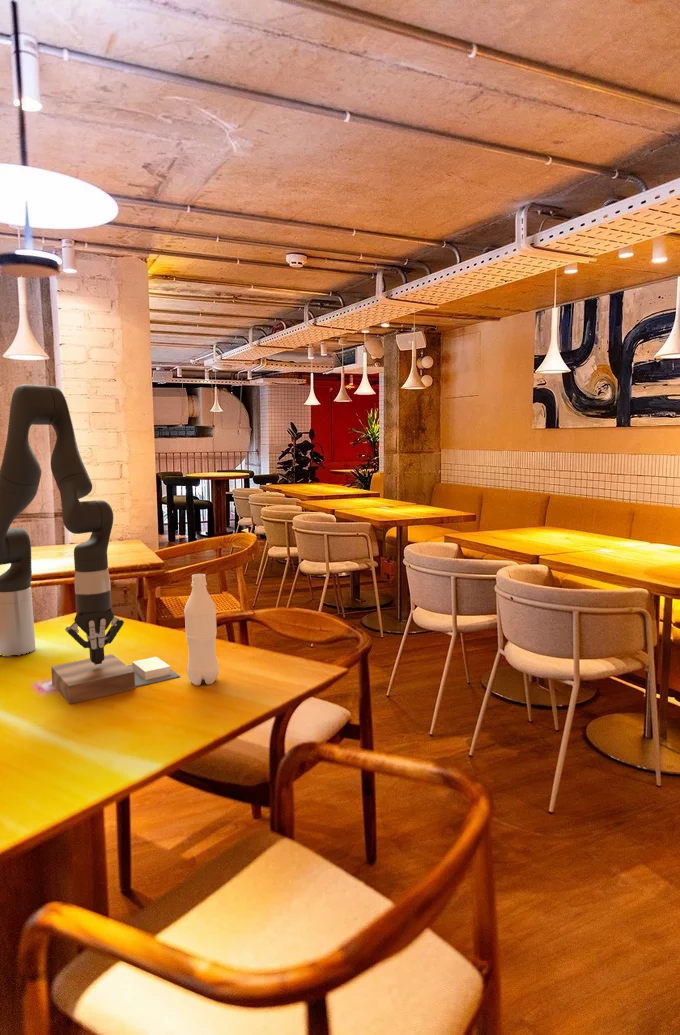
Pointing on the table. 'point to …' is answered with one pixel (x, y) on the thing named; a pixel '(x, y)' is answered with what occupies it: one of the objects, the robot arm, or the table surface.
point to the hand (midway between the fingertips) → (97, 663)
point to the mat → (141, 681)
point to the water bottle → (201, 633)
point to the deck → (92, 679)
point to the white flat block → (151, 668)
